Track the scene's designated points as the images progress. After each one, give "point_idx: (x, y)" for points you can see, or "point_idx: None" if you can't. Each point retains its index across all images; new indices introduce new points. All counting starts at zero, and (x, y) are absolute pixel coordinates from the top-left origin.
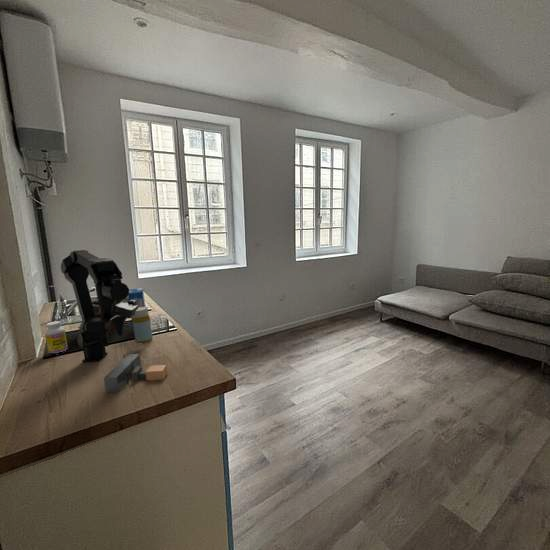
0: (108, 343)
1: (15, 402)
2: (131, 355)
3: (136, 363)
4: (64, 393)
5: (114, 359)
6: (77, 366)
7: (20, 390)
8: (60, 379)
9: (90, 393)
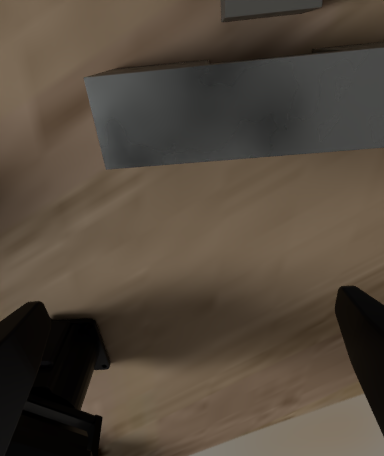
0: (362, 302)
1: None
2: (118, 136)
3: (162, 67)
4: None
5: (65, 267)
6: (142, 359)
7: (290, 406)
8: (236, 355)
9: (380, 193)
